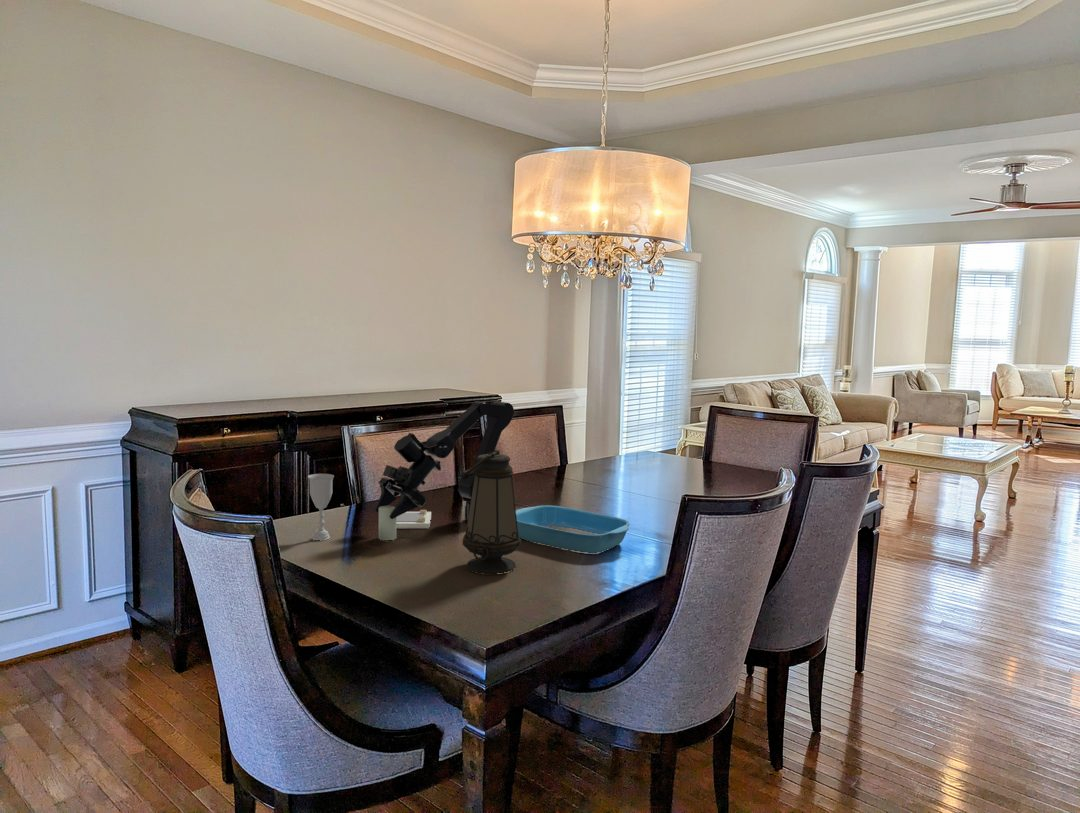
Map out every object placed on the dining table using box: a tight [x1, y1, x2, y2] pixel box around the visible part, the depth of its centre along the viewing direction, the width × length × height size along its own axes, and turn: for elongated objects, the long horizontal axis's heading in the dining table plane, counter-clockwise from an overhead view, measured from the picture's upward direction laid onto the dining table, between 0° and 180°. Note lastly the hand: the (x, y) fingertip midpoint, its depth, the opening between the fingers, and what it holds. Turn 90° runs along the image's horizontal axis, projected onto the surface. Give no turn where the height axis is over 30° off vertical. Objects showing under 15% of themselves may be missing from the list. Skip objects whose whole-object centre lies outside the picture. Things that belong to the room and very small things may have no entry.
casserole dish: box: [516, 504, 630, 553], centre depth 211 cm, size 37×22×7 cm, turn 55°
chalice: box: [307, 473, 335, 542], centre depth 205 cm, size 7×7×18 cm
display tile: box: [396, 509, 432, 529], centre depth 225 cm, size 14×14×2 cm
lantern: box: [460, 449, 522, 574], centre depth 185 cm, size 18×15×30 cm
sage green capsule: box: [378, 505, 397, 542], centre depth 208 cm, size 5×5×9 cm
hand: (383, 514), depth 206 cm, fingers open, 8 cm apart
